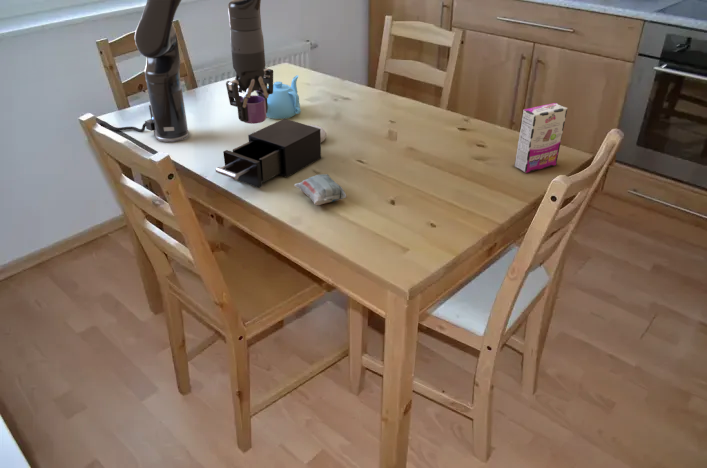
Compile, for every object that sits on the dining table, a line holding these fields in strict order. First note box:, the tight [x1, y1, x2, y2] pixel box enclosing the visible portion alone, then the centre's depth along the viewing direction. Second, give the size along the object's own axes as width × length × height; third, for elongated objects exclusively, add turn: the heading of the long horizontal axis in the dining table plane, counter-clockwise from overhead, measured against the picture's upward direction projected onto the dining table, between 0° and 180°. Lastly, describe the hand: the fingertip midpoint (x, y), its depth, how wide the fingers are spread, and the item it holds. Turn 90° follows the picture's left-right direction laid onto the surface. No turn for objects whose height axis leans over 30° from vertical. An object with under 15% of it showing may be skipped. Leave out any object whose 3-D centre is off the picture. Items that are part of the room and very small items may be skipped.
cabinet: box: [247, 118, 322, 178], centre depth 157 cm, size 15×13×9 cm
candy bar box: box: [514, 102, 569, 174], centre depth 155 cm, size 11×5×16 cm, turn 117°
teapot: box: [256, 75, 302, 120], centre depth 186 cm, size 15×15×10 cm
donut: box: [307, 124, 327, 143], centre depth 171 cm, size 10×4×10 cm
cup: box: [241, 94, 268, 125], centre depth 142 cm, size 6×6×5 cm
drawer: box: [215, 140, 284, 189], centre depth 148 cm, size 19×11×7 cm, turn 145°
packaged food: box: [293, 173, 348, 206], centre depth 141 cm, size 9×12×5 cm
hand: (253, 116), depth 143 cm, fingers closed on cup, 6 cm apart
